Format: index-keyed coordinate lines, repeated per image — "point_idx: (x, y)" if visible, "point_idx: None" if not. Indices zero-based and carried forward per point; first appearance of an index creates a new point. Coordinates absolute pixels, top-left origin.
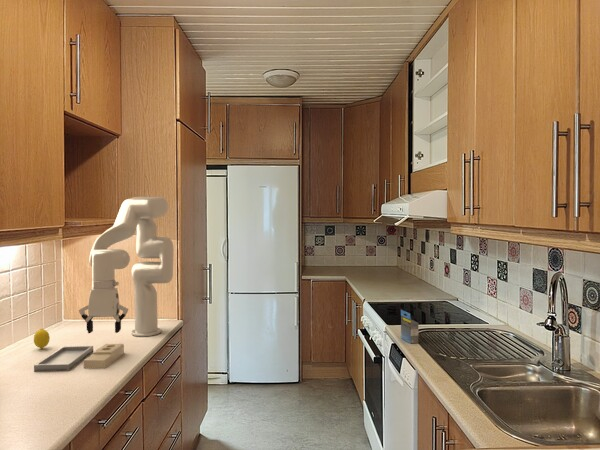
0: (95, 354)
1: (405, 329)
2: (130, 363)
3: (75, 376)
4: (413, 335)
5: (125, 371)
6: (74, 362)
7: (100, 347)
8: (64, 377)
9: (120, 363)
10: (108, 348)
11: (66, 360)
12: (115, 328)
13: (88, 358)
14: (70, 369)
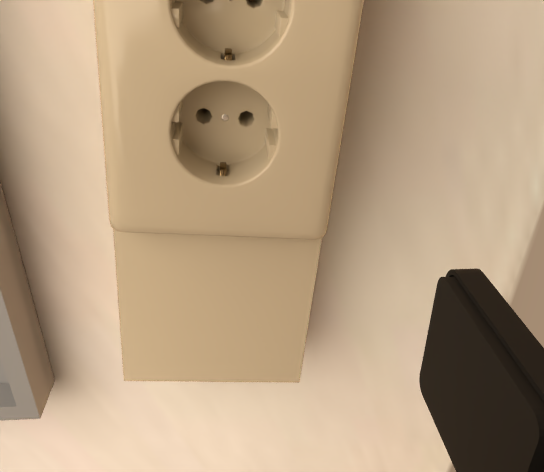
0: (146, 235)
1: None
2: (470, 242)
3: (163, 456)
4: None
5: None
6: (20, 319)
7: (112, 72)
8: (103, 468)
9: (389, 239)
10: (223, 77)
11: None
12: (451, 443)
13: (140, 340)
14: (48, 360)
